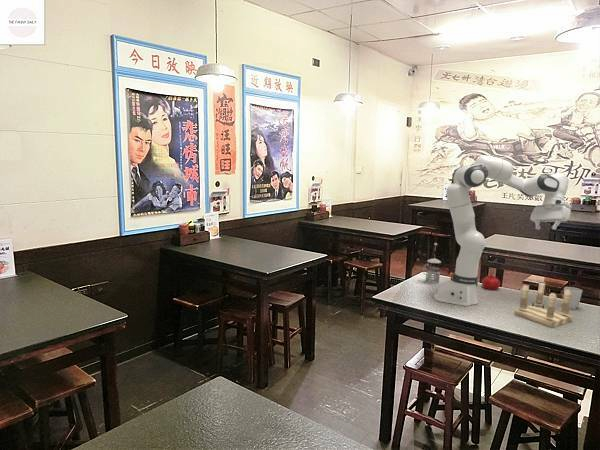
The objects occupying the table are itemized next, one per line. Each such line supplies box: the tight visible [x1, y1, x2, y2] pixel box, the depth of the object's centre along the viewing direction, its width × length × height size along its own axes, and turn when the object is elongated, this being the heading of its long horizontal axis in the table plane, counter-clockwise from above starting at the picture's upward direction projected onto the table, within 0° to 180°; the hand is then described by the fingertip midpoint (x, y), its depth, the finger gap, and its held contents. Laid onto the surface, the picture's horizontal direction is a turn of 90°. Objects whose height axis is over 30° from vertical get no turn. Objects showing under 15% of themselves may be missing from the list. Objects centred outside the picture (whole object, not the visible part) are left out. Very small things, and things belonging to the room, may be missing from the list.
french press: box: [422, 242, 442, 287], centre depth 254 cm, size 10×12×25 cm
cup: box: [563, 286, 583, 310], centre depth 220 cm, size 8×8×10 cm
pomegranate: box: [481, 272, 501, 291], centre depth 249 cm, size 10×10×9 cm
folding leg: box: [534, 280, 547, 305], centre depth 215 cm, size 3×3×12 cm
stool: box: [513, 284, 574, 329], centre depth 203 cm, size 18×18×16 cm
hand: (545, 229), depth 217 cm, fingers open, 8 cm apart
